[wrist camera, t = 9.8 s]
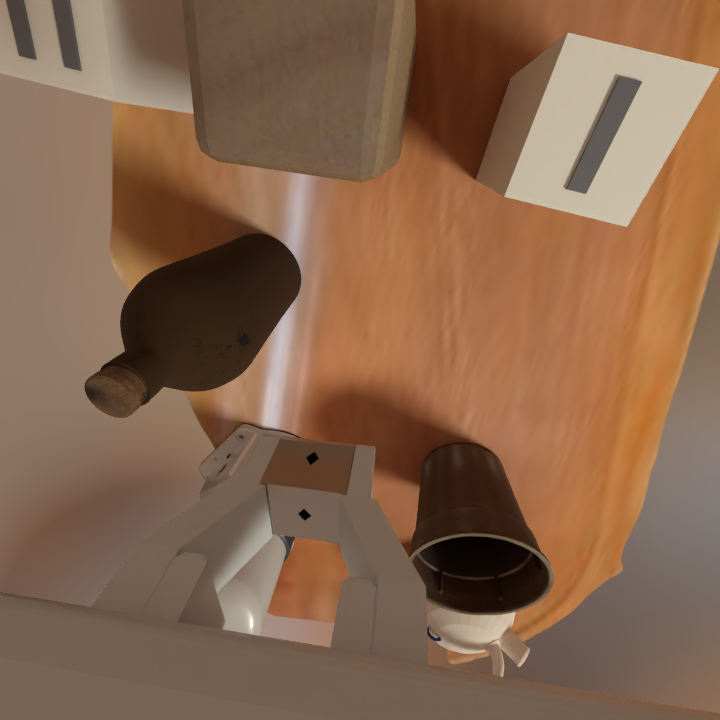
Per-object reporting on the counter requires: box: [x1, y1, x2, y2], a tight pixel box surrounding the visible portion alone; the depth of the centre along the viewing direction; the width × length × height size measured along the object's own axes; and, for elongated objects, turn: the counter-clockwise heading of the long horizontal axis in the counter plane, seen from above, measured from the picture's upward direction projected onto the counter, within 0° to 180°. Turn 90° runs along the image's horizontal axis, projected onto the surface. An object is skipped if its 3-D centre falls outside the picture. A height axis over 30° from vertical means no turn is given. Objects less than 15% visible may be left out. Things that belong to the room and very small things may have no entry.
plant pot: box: [409, 443, 554, 615], centre depth 48 cm, size 16×16×16 cm
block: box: [182, 0, 417, 182], centre depth 24 cm, size 10×10×20 cm
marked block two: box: [0, 0, 194, 114], centre depth 27 cm, size 8×8×14 cm
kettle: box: [426, 601, 530, 677], centre depth 61 cm, size 20×21×18 cm
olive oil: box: [85, 234, 301, 418], centre depth 32 cm, size 11×11×25 cm
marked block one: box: [476, 33, 719, 227], centre depth 26 cm, size 8×8×14 cm
